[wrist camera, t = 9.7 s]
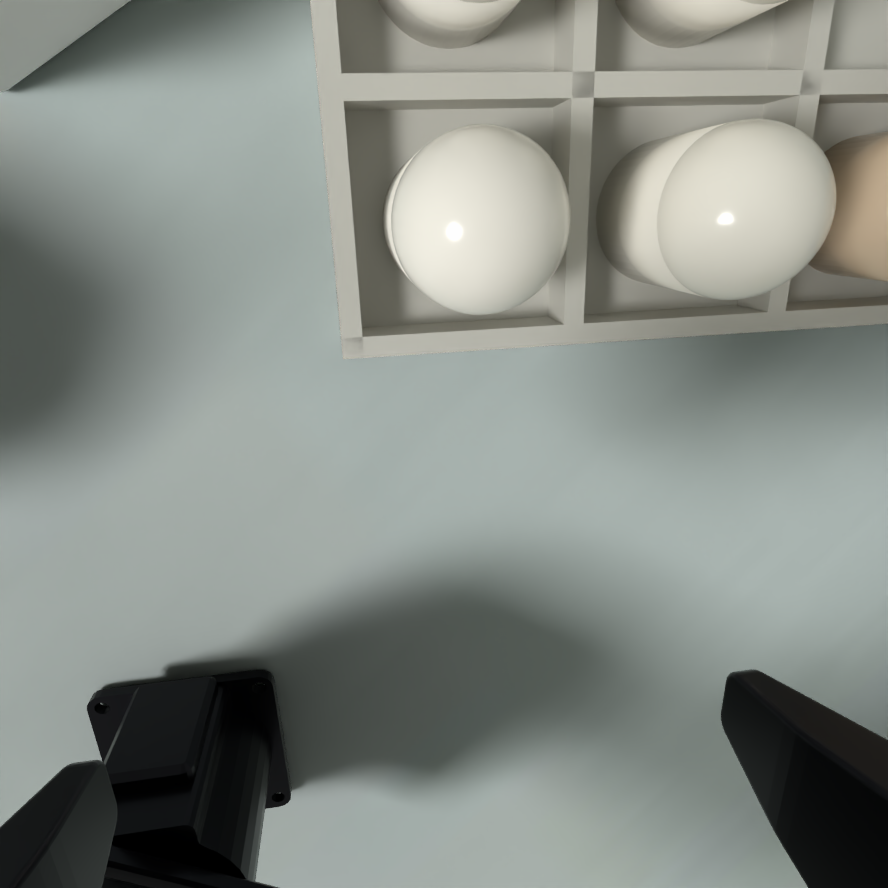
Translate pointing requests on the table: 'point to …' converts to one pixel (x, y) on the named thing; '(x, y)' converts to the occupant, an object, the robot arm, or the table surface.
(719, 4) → the egg
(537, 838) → the table surface
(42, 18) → the medicine bottle
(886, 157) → the brown egg
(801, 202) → the egg
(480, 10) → the egg
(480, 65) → the carton
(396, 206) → the egg
